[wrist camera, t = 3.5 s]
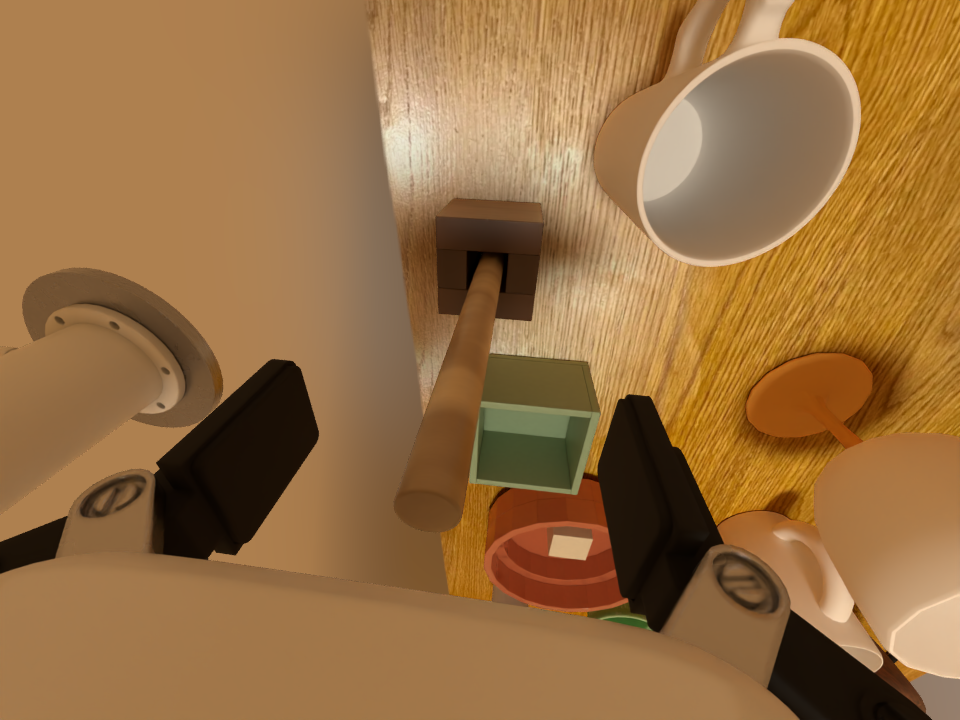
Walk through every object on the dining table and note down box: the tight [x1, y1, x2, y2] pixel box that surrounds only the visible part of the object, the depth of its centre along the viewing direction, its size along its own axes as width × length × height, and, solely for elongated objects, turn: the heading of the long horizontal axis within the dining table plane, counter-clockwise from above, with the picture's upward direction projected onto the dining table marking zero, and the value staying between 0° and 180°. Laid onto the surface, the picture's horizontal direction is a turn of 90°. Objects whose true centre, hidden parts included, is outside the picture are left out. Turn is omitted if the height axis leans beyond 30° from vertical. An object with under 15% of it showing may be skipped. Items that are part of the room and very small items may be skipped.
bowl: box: [484, 479, 628, 612], centre depth 41 cm, size 18×18×6 cm
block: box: [547, 526, 593, 560], centre depth 40 cm, size 4×4×4 cm
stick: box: [394, 252, 506, 532], centre depth 17 cm, size 2×2×22 cm
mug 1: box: [594, 0, 861, 267], centre depth 17 cm, size 10×7×12 cm, turn 179°
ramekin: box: [588, 602, 652, 631], centre depth 50 cm, size 9×9×4 cm
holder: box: [436, 198, 544, 321], centre depth 24 cm, size 6×6×6 cm
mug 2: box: [717, 511, 883, 672], centre depth 35 cm, size 8×12×12 cm
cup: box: [745, 353, 960, 679], centre depth 24 cm, size 12×12×17 cm
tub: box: [469, 354, 601, 495], centre depth 31 cm, size 9×9×7 cm
